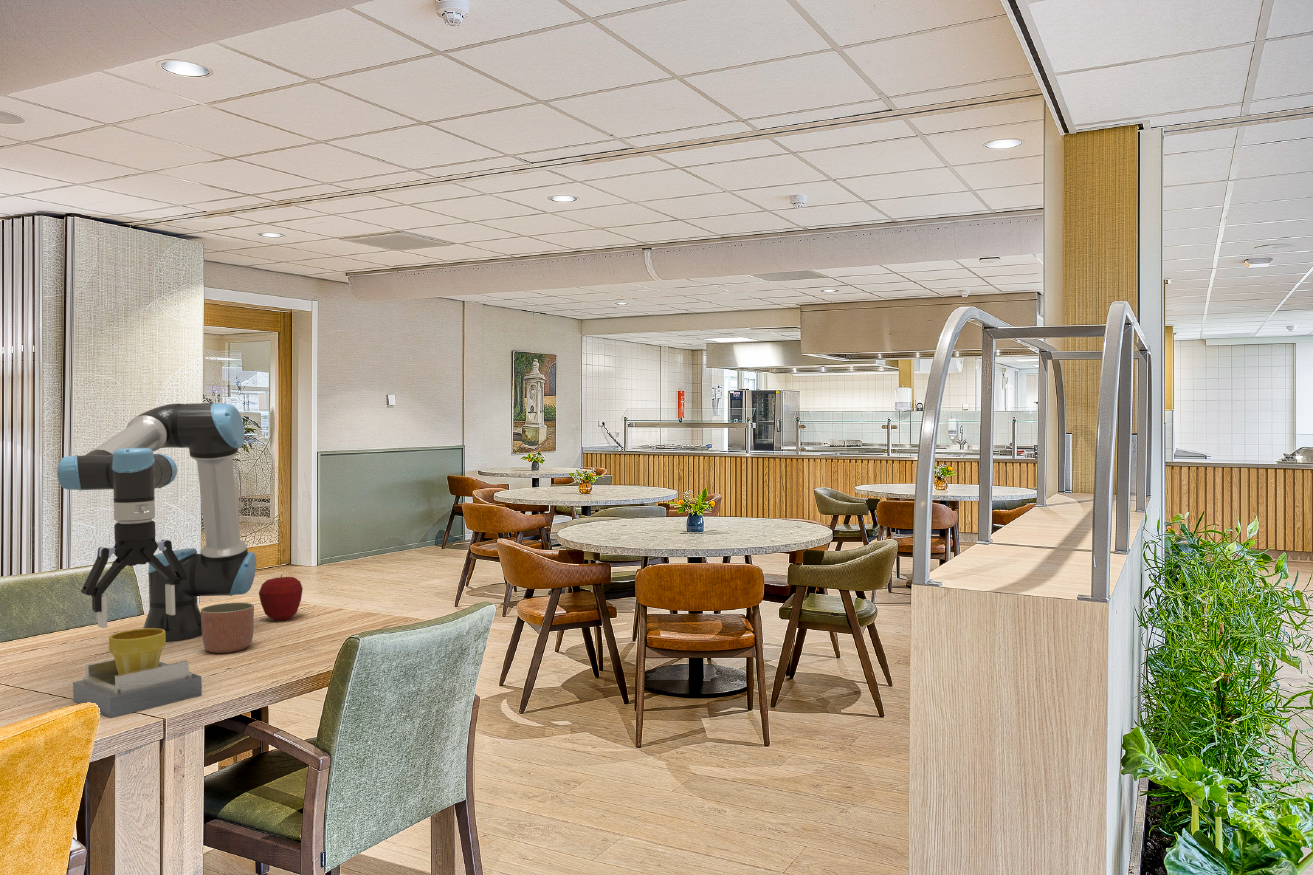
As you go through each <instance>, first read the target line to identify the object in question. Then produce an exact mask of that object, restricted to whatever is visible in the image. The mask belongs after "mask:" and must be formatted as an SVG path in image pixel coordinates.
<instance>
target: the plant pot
mask: <svg viewBox="0 0 1313 875" xmlns="http://www.w3.org/2000/svg"><path fill="white" fill-rule="evenodd" d="M166 642H167V641H166V633H165V630H163V629H158V628H144V629H143V628H135V629H128V630H123V631H118V632H116V633H112V634H111V635H110V636H109V637H108V648H109V649H108V650H109V653H110V654H112V655H113V659H115V663H116V667H117V670H118V674H119V675H121V674H125V673H130V672H135V671H139V670H144V669H149V668H153V667H158V665H159V661H160V660H161V656H162V651H163V648H165V647H166Z"/></svg>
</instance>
